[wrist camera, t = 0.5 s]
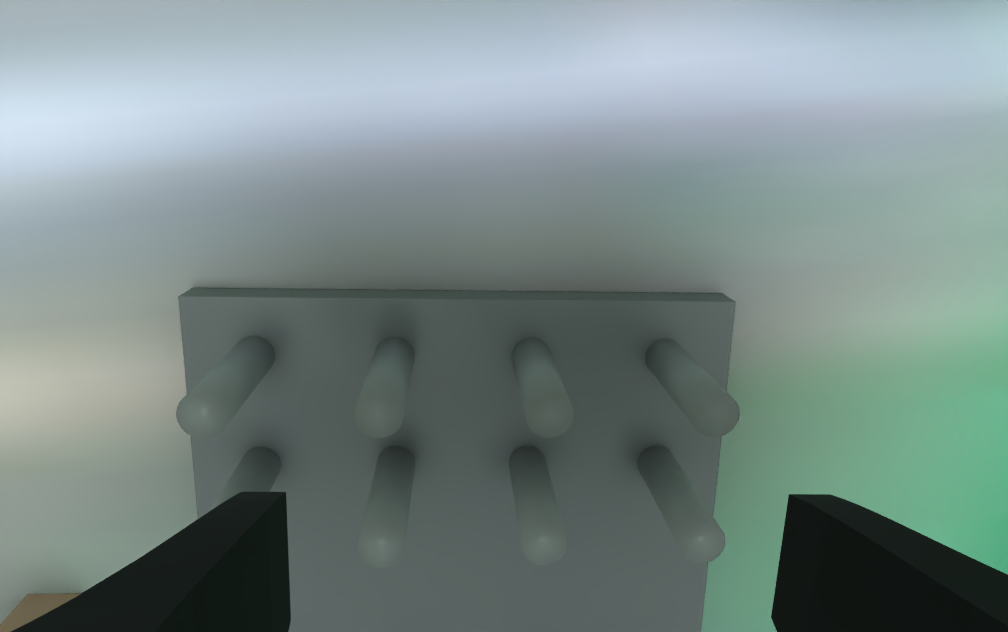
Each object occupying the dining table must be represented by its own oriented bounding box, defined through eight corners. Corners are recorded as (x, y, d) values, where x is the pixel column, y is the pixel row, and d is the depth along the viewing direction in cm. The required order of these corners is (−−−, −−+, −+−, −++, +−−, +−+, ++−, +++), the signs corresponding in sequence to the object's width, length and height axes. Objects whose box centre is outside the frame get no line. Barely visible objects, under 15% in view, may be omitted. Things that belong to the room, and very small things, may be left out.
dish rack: (674, 773, 24) (728, 936, 19) (233, 788, 23) (174, 963, 18) (722, 293, 20) (806, 347, 15) (192, 287, 19) (103, 342, 14)
